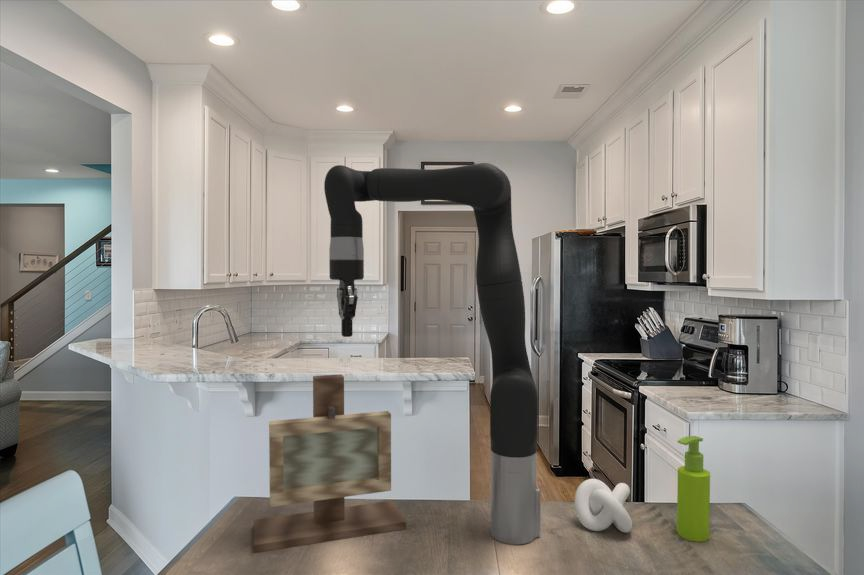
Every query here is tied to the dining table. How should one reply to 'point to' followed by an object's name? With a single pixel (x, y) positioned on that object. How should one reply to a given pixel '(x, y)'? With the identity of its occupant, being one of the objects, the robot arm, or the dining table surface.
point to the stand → (330, 513)
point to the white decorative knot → (602, 505)
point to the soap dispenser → (693, 494)
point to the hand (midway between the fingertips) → (346, 336)
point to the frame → (329, 457)
